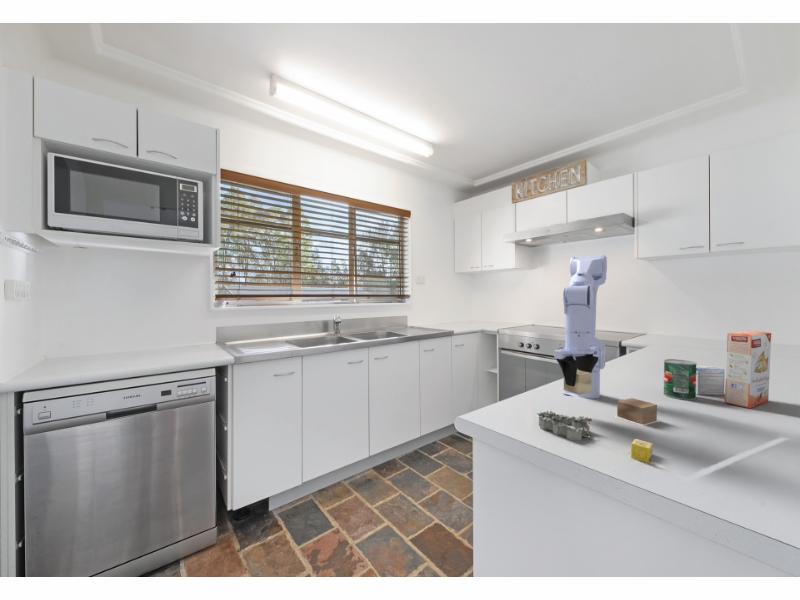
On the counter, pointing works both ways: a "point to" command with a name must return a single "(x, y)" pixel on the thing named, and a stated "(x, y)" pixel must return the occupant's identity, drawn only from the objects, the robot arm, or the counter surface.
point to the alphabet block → (641, 450)
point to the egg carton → (557, 421)
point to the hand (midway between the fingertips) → (577, 384)
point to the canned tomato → (680, 379)
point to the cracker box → (747, 368)
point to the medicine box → (710, 380)
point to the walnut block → (637, 411)
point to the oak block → (580, 383)
